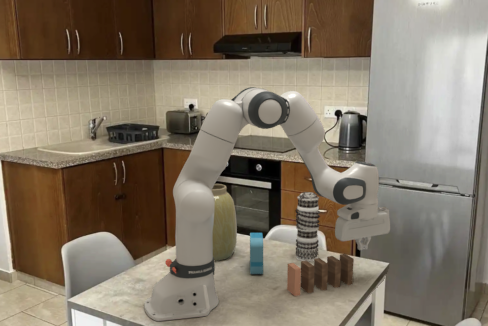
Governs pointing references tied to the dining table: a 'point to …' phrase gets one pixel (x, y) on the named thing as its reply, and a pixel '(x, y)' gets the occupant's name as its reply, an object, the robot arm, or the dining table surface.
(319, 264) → the domino
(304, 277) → the domino
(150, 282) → the dining table surface
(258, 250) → the data package
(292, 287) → the domino
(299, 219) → the decorative candle
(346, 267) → the domino
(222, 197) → the vase
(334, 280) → the domino
